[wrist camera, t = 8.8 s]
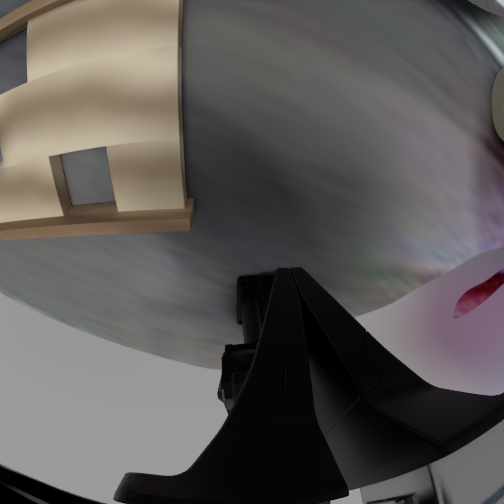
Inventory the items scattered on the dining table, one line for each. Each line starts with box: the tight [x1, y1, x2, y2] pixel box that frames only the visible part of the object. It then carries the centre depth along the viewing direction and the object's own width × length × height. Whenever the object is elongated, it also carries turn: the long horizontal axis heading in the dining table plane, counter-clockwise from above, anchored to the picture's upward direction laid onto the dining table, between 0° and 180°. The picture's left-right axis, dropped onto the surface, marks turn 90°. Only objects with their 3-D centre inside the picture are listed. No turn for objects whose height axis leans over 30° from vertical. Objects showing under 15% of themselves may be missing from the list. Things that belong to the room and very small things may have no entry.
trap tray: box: [0, 0, 195, 241], centre depth 13 cm, size 18×22×3 cm
